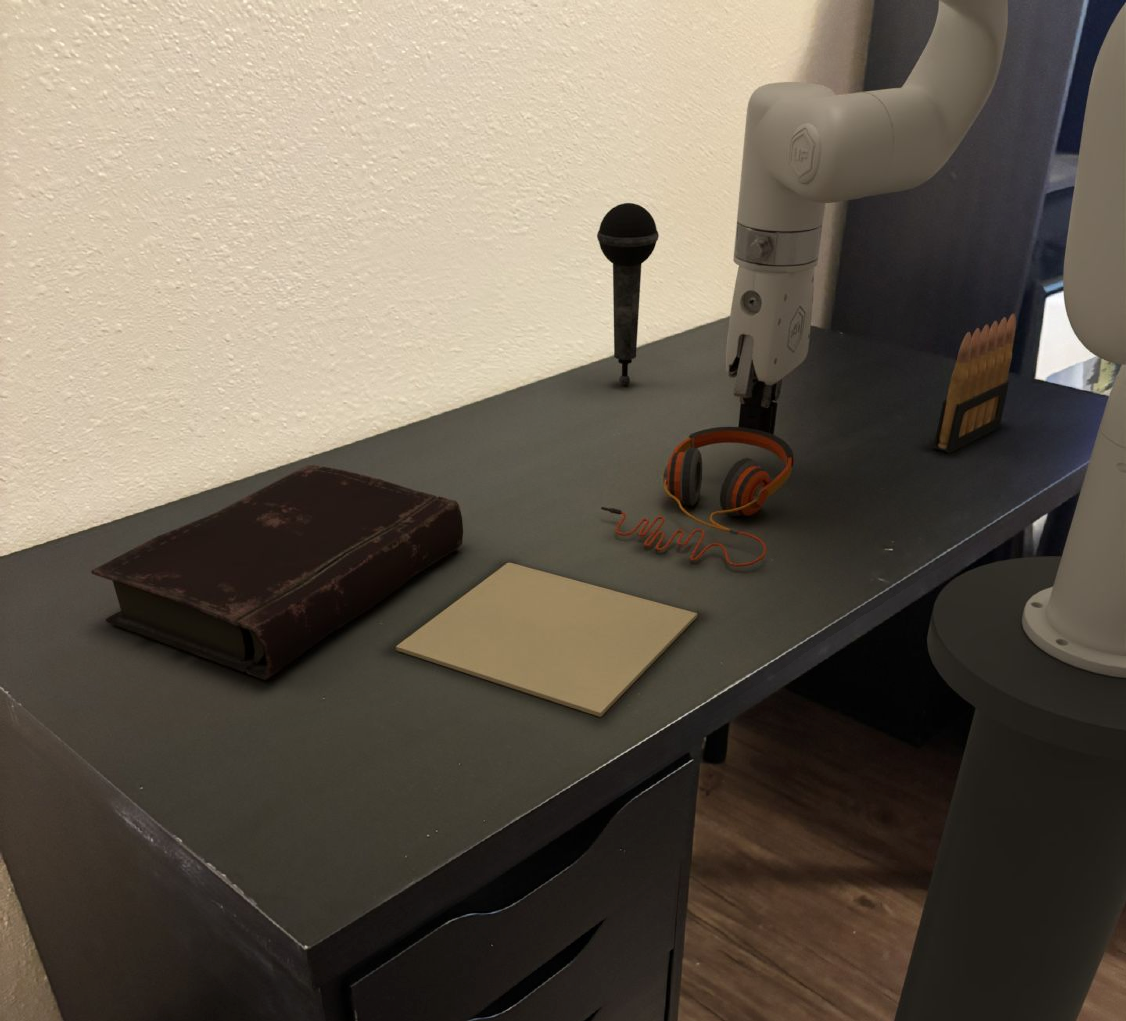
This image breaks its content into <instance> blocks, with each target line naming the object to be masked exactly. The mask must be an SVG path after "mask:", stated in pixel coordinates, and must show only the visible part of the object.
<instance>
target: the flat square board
mask: <svg viewBox="0 0 1126 1021" xmlns="http://www.w3.org/2000/svg"><path fill="white" fill-rule="evenodd" d="M697 618H698V613H697V612H694V611H691V610H686V609H682V608H679V607H676V606H671V605H668V604H665V603H660V602H657V601H653V600H649V599H646V598H642V597H638V596H634V595H631V594H627V593H624V592H620V591H616V590H613V589H609V588H605V587H601V586H597V585H595V584H591V583H587V582H583V581H580V580H575V579H572V578H569V577H564V576H560V575H557V574H554V573H550V572H546V571H542V570H538V569H536V568H531V567H528V566H524V565H520V564H516V563H513V562H506V563H505V564H504V565H502V566H501V567H500V568H499V569H497V570H496V571H495V572H493V573H492V574H490V575H489V576H488V577H486V578H485V579H484V580H483V581H481V582H480V583H478V584H477V585H476V586H474V587H473V588H472V589H470V590H469V591H468V592H466V593H465V594H464V595H463V596H461V597H459V599H458V600H456V601H454V602H453V603H452V604H451V605H449V606H448V607H447V608H445V609H444V610H443V611H440V613H439V614H437V615H435V616H434V617H433V618H431V620H429V621H428V622H427V623H425V624H424V625H422V626H421V627H419V629H416V631H414V632H413V633H412V634H410V635H409V636H408V637H406V638H405V639H403V641H401V642H399V643H398V644H397V645H396V646H395V649H396V651H397V652H400V653H403V654H406V655H409V656H412V657H415V658H418V659H422V660H424V661H427V662H429V663H430V662H431V663H433V664H437V665H439V666H443V667H445V668H449V669H452V670H455V671H457V672H461V673H465V674H467V675H470V676H473V677H476V678H479V679H482V680H486V681H489V682H492V683H495V684H498V685H500V686H504V687H507V688H510V689H513V690H516V691H519V692H522V693H525V694H528V695H531V696H534V697H537V698H541V699H544V700H547V701H550V702H553V703H556V704H559V705H562V706H565V707H567V708H571V709H574V710H576V711H577V710H578V711H581V712H583V713H585V714H586V713H587V714H589V715H593V716H596V717H599V718H601V717H602V716H603V715H605V713H606V712H607V711H609V709H610V708H611V707H612V706H613V705H614V704H615V703H616V702H617V701H618V700H619V699H620V698H621V697H622V696H623V694H625V693H626V692H627V691H628V689H629V688H630V687H631V686H632V685H633V684H634V683H635V682H636V681H637V680H639V678H640V677H641V676H642V675H643V674H644V673H645V672H646V671H647V670H648V669H649V668H650V667H651V666H652V665H653V664H654V663H655V662H656V660H658V659H659V658H660V657H661V655H662V654H663V653H664V652H666V651H667V649H668V648H669V647H670V646H671V645H672V644H673V643H674V642H675V641H676V640H677V639H678V638H679V637H680V636H681V635H682V634H683V632H684V631H686V629H687V628H688V627H690V626H691V625H692V623H693V622H694V621H695V620H697Z"/></svg>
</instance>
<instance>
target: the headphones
mask: <svg viewBox="0 0 1126 1021" xmlns="http://www.w3.org/2000/svg"><path fill="white" fill-rule="evenodd" d="M729 443H731V444H732V443H733V444H743V445H748V446H753V447H758V448H761V449H764V450H767V451H769V452H771V453H773V454H774V455H776V456H777V457H778V458H779V459H780V460H781V461H782V462H783V464H784V466H785V467H784V469H783V470H782V471H781V472H780V473H779V474H778V475H777V476H776V477H775V478H774V479H772V480H771V478H770V475H769V473H768V472H767V471H766V470H765V469H764V468H762V466H761V464H760V463H759V462H758V461H757V460H754V459H753V458H748V457H744V458H741V459H740V460H738V461H736V462H735V463H734V464H733V465H732V466H731V467H730V469H729V470H728V471H727V473H726V475H725V476H724V478H723V481H722V483H721V487H720V491H719V504H720V508H721V509H722V510H717V511H713V512H711V514H710V515H709V521H710V523H709V522H706V521H705V520H701V519H699V518H698V517H695V516H694V515H692V513H689V511H687V510H686V508H684V507H683V506H693V507H694V505H696V504H697V503H698V500H699V498H700V494H701V489H702V482H703V457H702V453H701V451H700V449H699V448H703V447H705V446H711V445H715V444H729ZM794 465H795V455H794V451H793V450H792V448H791V446H790V445H789V444H788V443H787V442H786V441H785V440H784V439H782V438H781V437H779V436H777V435H775V434H774V435H773V434H770V433H767V432H764V431H760V430H756V429H750V428H744V427H738V426H718V427H711V428H706V429H702V430H698V431H695V432H693V433H690V434H689V435H688V438H686V439H684V440H683V441H681V442H680V443H679V444H678V445H677V446H676V448H675V449H674V450H673V452H672V453H671V456H670V457H669V459H668V463H667V465H666V467H664V469H663V473H662V481H663V488H664V491H665V493H666V494H667V495H668V496H669V497H670V499H671V500H674V501H676V502H677V504H678V507H679V509H680V510H681V512H683V513H684V514H685V515H686V516H688V517H689V518H691V519H692V520H693V521H696V522H698V523H699V524H702V525H704V526H707V527H710V528H713V529H716V530H721V531H724V532H729V533H730V534H733V535H743V536H746V537H749V538H752V539H754V540H756V541H758V542H759V543H760V544H761V545H762V547H763V552H762V554H761V555H760V556H759V557H758V558H756V559H754V560H752V561H749V562H744V563H735V562H732V561H731V560H730V558H729V555H728V552H727V549H726V547H725V545H723V544H722V543H720V542H719V543H718V542H712V543H710V544H708V545H707V546H706V547H704V549H702V551H701V552H700V553H699V554H697V555H696V557H694V556H695V554H696V553H697V550H698V549H699V548H700V546H701V544H702V542H703V540H704V539H705V537H706V533H705V531H704V530H703V529H702V528H697V529H694V530H692V532H690V534H689V535H688V537H687V538H686V540H685V541H684V542H681V540H682V538H683V536H684V533H685V532H684V530H683V529H677V530H676V531H675V532H674V533H673V534H672V536H671V538H670V539H669V540H668V541H667V543H666V544H665V545H664V546H663V547H660V545H661V544H662V542H663V540H664V538H665V532H663V531H659V530H660V529H661V527H662V526H663V524H664V522H665V521H666V520H665V519H666V518H665V517H664V516H662V515H659V516H656V517H655V518H654V520H652V522H651V523H650V519H648V517H647V518H646V517H644V518H642V519H641V520H640V521H639V523H638V524H637V525H636V526H635V527H634V528H633V529H632V530H631V531H630V532H622V531H619V529H620V527H621V525H622V524H623V522H624V521H625V520H626V517H627V515H626V513H625V512H624V511H622V510H621V509H618V508H614V507H605V506H601V507H600V510H602V511H606V512H609V513H611V514H615V515H622V519H620V521H619V522H618V523H617V525H616V528H615V533H616V534H617V535H619V536H624V537H627V536H631V535H633V534H634V533H636V531H637V530H639V528H640V527H641V525H642V524H643V523H644V522H645V524H644V525H643V527H642V528H641V529H640V531H639V532H638V536H639V537H645V536H646V535H647V534H648V532H649V531H650V530H651V529H652V528H653V527H654V525H655V524H656V522H657V521H658V520H661V522H660V523H659V524H658V525H657V527H656V528H655V529H654V530H653V531H652V533H651V534H649V536H648V537H647V539H645V541H644V546H645V547H650V546H652V545H653V543H654V542H655V541H656V539H657V537H659V536H660V535H661V536H660V539H659V541H658V542H657V543H656V544H655V549H656V550H657V551H660V552H661V551H664V550H666V549H667V548H668V547H669V546H670V544H672V542H673V541H674V539H675V538H676V536H677V535H678V534H679V533H680V534H679V536H678V538H677V544H678V546H681V547H684V546H687V544H688V543H689V541H690V540H691V538H692V537H693V536H694V535H695V534H696V533H701V534H702V536H701V537H700V539H699V541H698V543H697V544H696V546H695V548H694V549H693V551H692V553H691V555H690V557H689V559H690V561H691V562H696V561H697V560H698V559H700V558H701V557H702V556H703V554H705V553H706V551H708V550H709V549H710V548H711V547H714V546H715V547H716V546H717V547H720V548H721V549H722V551H723V554H724V556H725V560H726V561H727V563H728V564H729V565H730V566H732V567H748V566H752V565H753V564H756V563H758V562H760V561H761V560H762V559H763V558H764V557H765V556H766V553H767V546H766V543H765V542H764V541H763V539H761V538H759V537H757V536H755V535H754V534H751V533H748V532H745V531H740V530H739V529H738V528H732V527H726V526H723V525H721V524H719V523H717V522H716V521H714V519H713V517H714V516H715V515H719V514H728V515H729V516H733V517H738V516H748V517H750V516H752V515H753V514H756V513H757V512H758V511H759V510H760V509H762V507H763V506H764V504H765V503H766V501H767V499H768V497H770V496H772V495H773V494H774V493H776V492H777V491H778V490H779V489H780V488H781V487H782V486H783V485H784V484H785V483H786V482H787V481H788V479H789V478H790V476H791V473H792V467H794ZM681 502H682V503H681ZM682 504H683V505H682ZM649 523H650V525H649ZM648 525H649V526H648ZM649 541H650V542H649ZM648 542H649V543H648Z"/></svg>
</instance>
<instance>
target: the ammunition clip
mask: <svg viewBox="0 0 1126 1021" xmlns="http://www.w3.org/2000/svg"><path fill="white" fill-rule="evenodd" d="M1016 326H1017V320H1016V314H1015V313H1011V315H1010V316H1009V318H1008V321H1007V317H1006V316H1004V317H1003V318H1002V319H1001V320H1000V322H999V324H998V320H994V321H993V323H992V324H991V326H990V327H989V324H987V323H986V324H985V325H984V327H983V328H982V330H980V328H979V327H977V328H976V329H975V330H974V332H973V334H972V333H971V332H970V331H967V333H965V335H964V337H963V339H962V342H961V344H960V347H959V350H958V353H957V359H956V361H955V364H954V369H953V371H952V374H951V376H950V382H949V387H948V391H947V396H946V399H944V400H943V402H942V406H941V411H940V415H939V420H938V425H937V428H936V432H935V433H936V434H935V438H934V444H933V447H932V448H933V449H935V450H937V451H941V452H943V453H947V454H950V453H953V452H954V451H957V450H958V449H961V448H962V447H964V446H967V445H968V444H971V443H972V442H974V441H976V440H978V439H980V438H981V437H984V436H986V435H987V434H989V433H991V432H993V431H995V430H997V429H999V428H1000V427H1001V423H1002V419H1003V418H1002V417H1003V413H1004V409H1005V404H1006V401H1007V400H1006V399H1007V394H1008V390H1009V387H1010V386H1009V384H1010V380H1008V378H1009V374H1010V373H1009V371H1010V367H1011V363H1012V360H1013V359H1012V358H1013V347H1014V341H1015V336H1016V328H1017V327H1016Z"/></svg>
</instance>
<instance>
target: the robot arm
mask: <svg viewBox="0 0 1126 1021" xmlns="http://www.w3.org/2000/svg"><path fill="white" fill-rule="evenodd" d="M1008 1H1009V0H938V10H937V15H936V20H935V23H934V27H933V29H932V32H931V35H930V37H929V39H928V41H927V43H926V46H925V47H924V49H923V50H922V53H921V54H920V56H919V58H918V60H917V62H916V63H915V66H914V67H913V68H912V70H911V72H910V74H909V75H908V77H907V79H906V80H905V82H904V83H903V84H902V86H901V87H895V88H884V89H875V90H868V91H857V92H853V93H843V94H842V93H841V94H836V93H835V92H834V91H833V90H832V88H829V87H827V86H826V85H822V84H817V83H811V82H803V81H801V82H800V81H799V82H798V81H782V82H780V81H779V82H771V83H766V84H764V85H761V86H759V87H757V88H756V89H754V91H753V92H752V94H750V97H749V99H748V102H747V108H746V116H745V127H744V138H743V149H742V158H741V159H742V160H741V171H740V181H739V182H740V183H739V192H738V204H737V214H736V225H735V236H734V246H733V247H734V248H733V257H732V258H733V263H734V264H735V265H737V266H738V267H737V274H736V278H735V283H734V289H733V295H732V300H731V308H730V312H729V313H730V314H729V321H728V329H727V336H726V337H727V338H726V348H725V362H724V363H725V367H724V368H725V373H726V375H727V376H728V377H729V378H730V379H734V378H735V383H734V388H733V396H734V397H738V398H739V404H740V407H739V415H738V416H739V417H738V426H737V427H744V428H750V429H756V430H760V431H764V432H767V433H770V434H773V435H775V428H776V420H777V412H778V400H779V398H780V395H781V390H782V384H783V379H784V377H786V376H788V375H789V374H790V373H791V372H793V371H794V370H795V369H796V368H798V367H799V366H800V365H801V364H802V363H803V362H805V361H806V358H807V357H808V354H809V346H810V337H811V326H812V314H813V304H814V292H815V291H814V290H815V289H814V288H815V267H816V266H817V265H818V261H819V255H820V254H819V252H820V246H821V240H822V232H823V224H824V217H825V210H826V204H832V203H839V202H845V201H851V200H859V199H862V198H867V197H872V196H879V195H886V194H889V193H890V194H892V193H898V192H903V191H909V190H912V189H915V188H917V187H919V186H921V185H923V184H924V183H926V182H927V181H929V180H930V179H931V178H933V177H934V176H935V175H936V174H937V173H938V172H939V171H940V170H941V169H942V168H943V167H944V166H945V165H946V163H947V162H948V161H949V159H950V158H951V157H952V155H953V154H954V152H955V151H956V150H957V149H958V147H959V146H960V144H961V143H962V142H963V140H964V139H965V136H966V135H967V133H968V132H969V130H970V129H971V127H972V126H973V124H974V122H975V121H976V120H977V118H978V116H980V115H979V114H980V113H981V111H982V110H983V108H984V106H985V104H986V103H987V101H988V99H989V97H990V96H991V94H992V91H993V89H994V87H995V84H996V82H997V78H998V76H999V72H1000V68H1001V65H1002V60H1003V56H1004V55H1003V54H1004V49H1005V46H1006V40H1007V33H1008V24H1009V23H1008V21H1009V20H1008V19H1009V16H1008V15H1009V13H1008V12H1009V8H1008V6H1009V4H1008ZM1091 74H1092V75H1091V79H1090V82H1089V88H1088V94H1087V99H1086V104H1085V111H1084V118H1083V125H1082V131H1081V139H1080V146H1079V152H1078V160H1077V165H1076V174H1075V179H1074V187H1073V188H1074V189H1073V195H1072V200H1071V207H1070V208H1071V209H1070V215H1069V223H1068V230H1067V236H1066V238H1067V239H1066V243H1065V252H1064V260H1063V273H1062V274H1063V276H1062V287H1063V288H1062V290H1063V302H1064V307H1065V313H1066V316H1067V319H1068V322H1069V325H1070V327H1071V329H1072V332H1073V334H1074V335H1075V336H1076V338H1077V340H1078V341H1079V342H1080V343H1081V345H1083V347H1084V348H1085V349H1086V350H1088V351H1089V353H1091V354H1092V355H1094V356H1095V357H1097V358H1100V359H1102V360H1103V361H1106V362H1109V363H1111V364H1116V365H1121V366H1120V368H1119V370H1118V373H1117V375H1116V378H1115V380H1114V382H1113V384H1112V387H1111V390H1110V393H1109V395H1108V398H1107V401H1106V404H1105V407H1104V411H1103V414H1102V418H1101V421H1100V424H1099V427H1098V431H1097V434H1096V437H1095V440H1094V444H1093V447H1092V452H1091V455H1090V457H1089V462H1088V465H1087V468H1086V472H1085V475H1084V479H1083V482H1082V485H1081V489H1080V492H1079V496H1078V500H1077V503H1076V507H1075V509H1074V514H1073V516H1072V520H1071V524H1070V527H1069V531H1068V534H1067V536H1066V541H1065V545H1064V548H1063V551H1062V555H1061V557H1062V558H1061V561H1060V565H1059V568H1058V572H1057V575H1056V579H1055V582H1054V585H1053V587H1051V588H1048V589H1045V590H1042V591H1040V592H1038V593H1037V594H1035V595H1033V596H1032V597H1031V598H1030V599H1029V600H1028V601H1027V603H1026V606H1025V608H1024V612H1023V616H1022V625H1023V629H1024V631H1025V632H1026V634H1027V636H1028V637H1029V638H1030V639H1031V640H1032V641H1033V642H1034V643H1035V644H1036V645H1037V646H1038V647H1039V648H1040V649H1042V650H1043V651H1045V652H1046V653H1047V654H1049V655H1051V656H1052V657H1054V658H1056V659H1058V660H1060V661H1062V662H1064V663H1067V664H1069V665H1071V666H1074V667H1076V668H1079V669H1083V670H1086V671H1089V672H1092V673H1096V674H1101V675H1106V676H1111V677H1118V678H1126V2H1125V3H1124V4H1123V5H1122V7H1121V8H1120V10H1119V11H1118V13H1117V14H1116V16H1115V18H1114V19H1113V22H1111V25H1110V27H1109V29H1108V31H1107V33H1106V36H1105V37H1104V40H1103V42H1102V44H1101V46H1100V49H1099V52H1098V54H1097V57H1096V60H1095V63H1094V66H1093V71H1092V73H1091Z"/></svg>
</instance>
